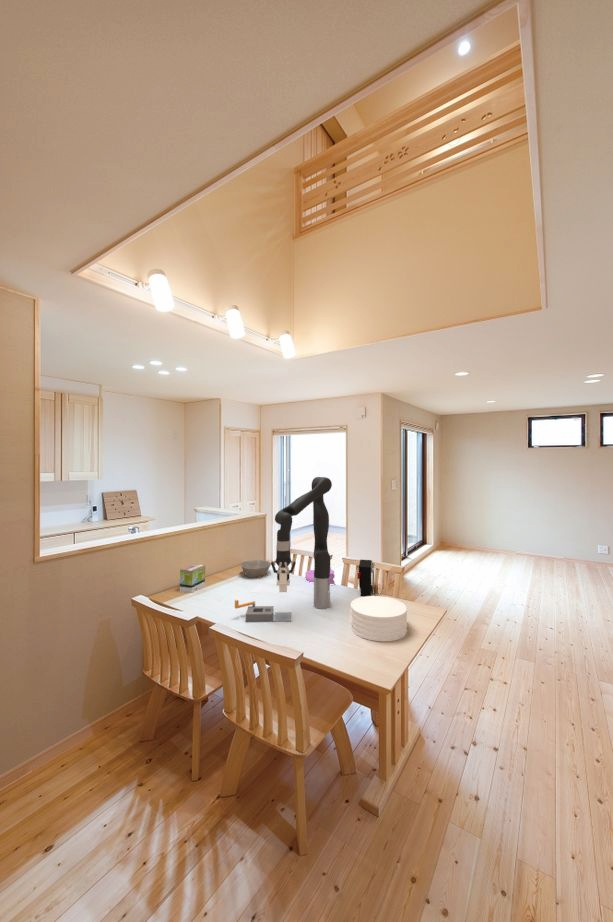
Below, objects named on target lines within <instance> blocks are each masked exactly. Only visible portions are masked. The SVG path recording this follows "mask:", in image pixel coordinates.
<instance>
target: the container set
mask: <svg viewBox="0 0 613 922" xmlns="http://www.w3.org/2000/svg"><path fill="white" fill-rule="evenodd" d="M304 574H305V578H306V580H307V581H309V582H308V583H310V582H314V569H312V570H307V571H306V572H305V573H304ZM334 579H335V570H333V569H332V567H331V566H330V584H334V585H335V584H336V582H335V580H334ZM306 580H305V581H306ZM307 581H306V582H307Z"/></svg>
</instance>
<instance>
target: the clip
mask: <svg viewBox="0 0 613 922" xmlns="http://www.w3.org/2000/svg"><path fill="white" fill-rule="evenodd" d="M248 606H256V601H255V600H253V601H249V602H244V603H241V604H239V599H235V600H234V608H235V609H241V608H245V607H248Z"/></svg>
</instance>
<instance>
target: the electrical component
mask: <svg viewBox="0 0 613 922" xmlns="http://www.w3.org/2000/svg"><path fill="white" fill-rule="evenodd" d="M375 564H376V563H375V562H373V560H372V559H359V563H358V572H357V580H358V583H359V586H358V587H359V588H358V589H359V590H360V597H366V596H375V594H374V592H375V591H374V590H375Z"/></svg>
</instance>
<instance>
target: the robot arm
mask: <svg viewBox="0 0 613 922" xmlns="http://www.w3.org/2000/svg"><path fill="white" fill-rule="evenodd" d="M332 487H333V484H332V481H331V479H330V478H329V477H325V476H316V477H314V478H313V479H312V480H311V490H309V491H308V492H306V493H304V494H302V495H300V496H299V497H297V498H296V499H294V501H293V502H291V503H290V504H289V505H287V506H285V507H284V508H282V509H280V510H279V511H278V512H277V513H276V514H275V516H274V521H275V523H276V524H278V525H280V529H278V530H277V532H276V548H275V549H276V550H275V551H276V553H275V554H276V557H275V558H276V559H275V560H272V561H271V562H270V563H271V565H270V566H271V567H272V571H273V573H274V574H276V581H277V580H278V581H279V573H280V571H281V569H282V568H283V569H285V571H287V581H288V580H290V574H292V573H294V568H295V567H296V561H295V560H292V559H291V530H292V526H293V517H294V516H297V515H299V514H300V513H301V512H303V511H304V509H307V507H308V506H309V505H311V504H312V506H313V507H312V508H313V509H312V512H313V516H312V517H313V519H312V520H313V521H312V522H313V525H312V526H313V535H314V545H313V546H314V549H313V560H314V561H313V562H314V567H313V568H314V569H313V570H314V583H313V607H314V608H315V609H318V610H326V609H330V608H331V586H330V567H331V554H330V553H329V551H328V550H329V549H328V535H329V528H330V516H329V515H330V514H329V511H328V509H327V506H326V503H325V500H324V495H325V494H327V493H329V492H330V491H331V489H332ZM290 564H291V568H289V565H290ZM275 565H277V566H278V567H276V566H275ZM276 568H277V569H276Z"/></svg>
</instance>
